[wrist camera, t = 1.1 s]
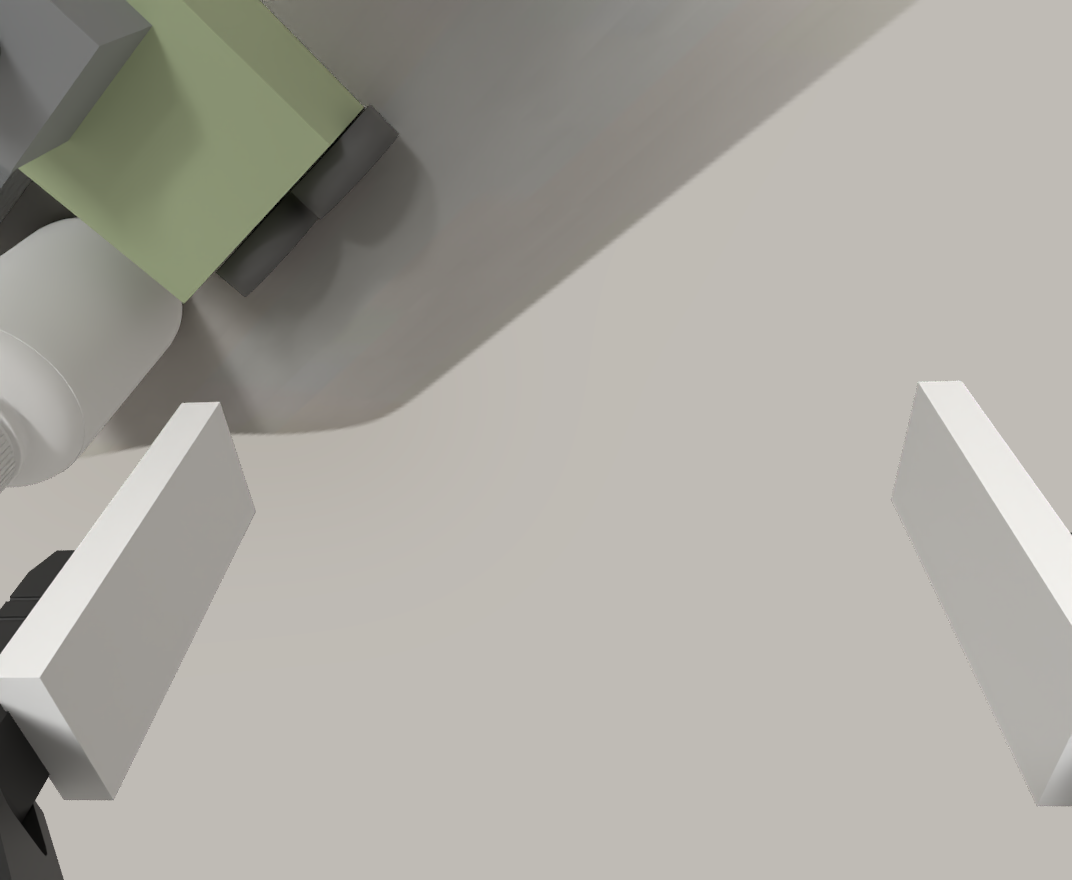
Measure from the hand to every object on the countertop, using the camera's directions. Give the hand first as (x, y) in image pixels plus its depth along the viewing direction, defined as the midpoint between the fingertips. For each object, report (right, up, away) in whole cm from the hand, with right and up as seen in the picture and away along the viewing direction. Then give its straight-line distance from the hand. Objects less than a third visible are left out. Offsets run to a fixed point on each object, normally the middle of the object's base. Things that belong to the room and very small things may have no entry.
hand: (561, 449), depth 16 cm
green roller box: (-18, +18, +19) cm, 32 cm away
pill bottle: (-22, +8, +27) cm, 36 cm away
